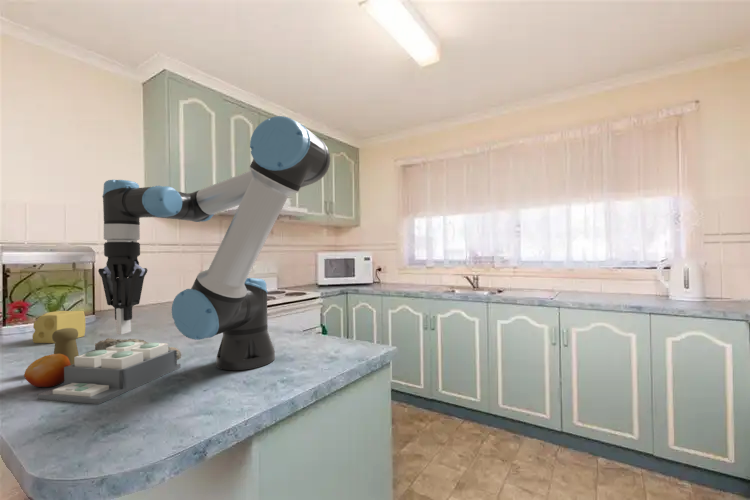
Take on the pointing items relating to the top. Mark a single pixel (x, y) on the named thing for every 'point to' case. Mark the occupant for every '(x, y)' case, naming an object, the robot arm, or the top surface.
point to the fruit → (47, 370)
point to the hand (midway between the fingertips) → (123, 332)
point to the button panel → (109, 380)
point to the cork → (66, 343)
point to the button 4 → (151, 349)
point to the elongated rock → (111, 342)
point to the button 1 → (92, 358)
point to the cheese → (57, 324)
